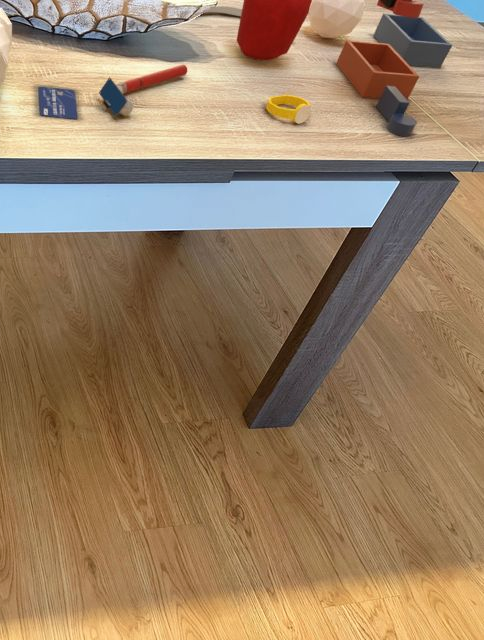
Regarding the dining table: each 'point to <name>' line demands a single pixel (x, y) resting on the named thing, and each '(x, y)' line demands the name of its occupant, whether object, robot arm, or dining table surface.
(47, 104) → the credit card
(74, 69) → the dining table surface
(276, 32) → the red rounded piece
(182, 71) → the flare
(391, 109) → the blue spoon
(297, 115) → the watch
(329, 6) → the decorative ball
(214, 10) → the machete
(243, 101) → the dining table surface
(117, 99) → the ultrasonic sensor
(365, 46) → the red bin
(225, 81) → the dining table surface
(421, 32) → the blue bin
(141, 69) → the dining table surface
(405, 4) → the red disc on stick
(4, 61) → the bowl
